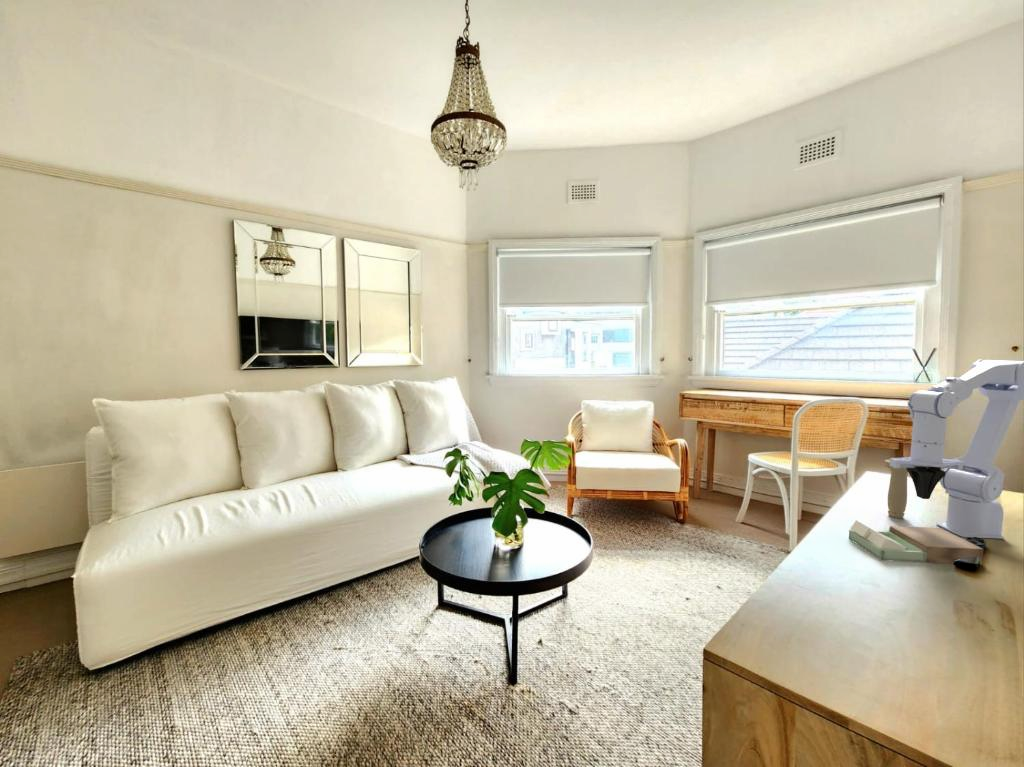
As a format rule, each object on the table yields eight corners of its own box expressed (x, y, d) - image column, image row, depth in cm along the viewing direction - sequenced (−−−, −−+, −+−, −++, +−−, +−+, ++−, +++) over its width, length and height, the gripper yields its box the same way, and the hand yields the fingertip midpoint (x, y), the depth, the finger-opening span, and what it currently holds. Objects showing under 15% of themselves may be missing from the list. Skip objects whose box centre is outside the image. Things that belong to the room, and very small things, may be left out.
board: (938, 542, 107) (940, 527, 107) (981, 564, 96) (983, 548, 96) (888, 540, 108) (890, 525, 108) (925, 562, 97) (927, 546, 97)
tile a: (856, 520, 108) (850, 528, 108) (869, 527, 103) (862, 536, 104) (872, 529, 108) (866, 538, 108) (886, 538, 103) (880, 546, 103)
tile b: (872, 529, 103) (866, 539, 103) (886, 538, 98) (880, 548, 99) (891, 538, 102) (886, 548, 103) (906, 547, 98) (900, 557, 98)
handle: (908, 522, 119) (912, 466, 117) (878, 514, 124) (882, 461, 122) (913, 518, 121) (918, 463, 120) (884, 510, 127) (888, 458, 125)
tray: (888, 540, 108) (889, 531, 108) (925, 562, 97) (926, 552, 97) (848, 538, 109) (849, 529, 109) (880, 560, 98) (881, 550, 98)
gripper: (907, 444, 103) (902, 502, 104) (977, 446, 101) (971, 504, 103) (885, 438, 110) (881, 492, 111) (950, 439, 108) (945, 494, 110)
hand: (923, 497), depth 107 cm, fingers closed
